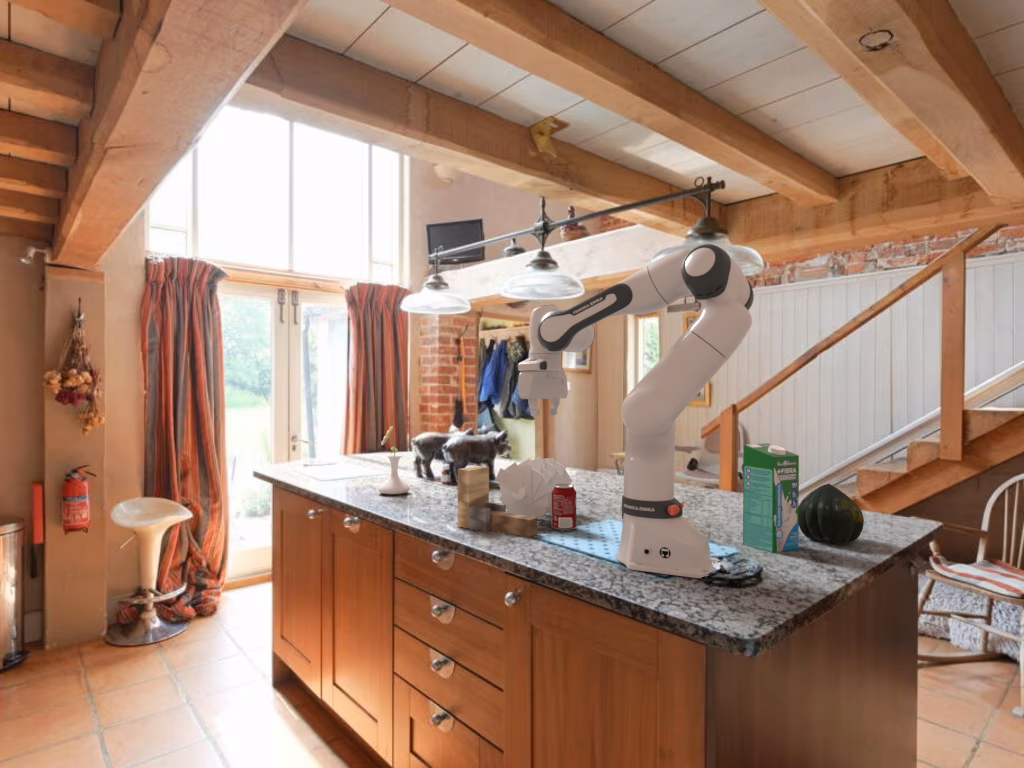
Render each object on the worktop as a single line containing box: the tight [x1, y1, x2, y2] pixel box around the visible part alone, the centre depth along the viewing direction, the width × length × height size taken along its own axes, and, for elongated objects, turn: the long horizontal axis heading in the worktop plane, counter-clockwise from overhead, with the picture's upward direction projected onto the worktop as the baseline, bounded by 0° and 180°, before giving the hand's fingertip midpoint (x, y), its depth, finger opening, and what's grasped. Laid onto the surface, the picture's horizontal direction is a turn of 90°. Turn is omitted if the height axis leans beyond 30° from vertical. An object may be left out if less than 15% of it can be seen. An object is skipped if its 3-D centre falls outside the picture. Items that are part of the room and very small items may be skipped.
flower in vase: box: [377, 425, 411, 496], centre depth 212 cm, size 13×11×25 cm
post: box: [456, 465, 507, 532], centre depth 163 cm, size 10×9×16 cm
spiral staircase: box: [494, 455, 573, 520], centre depth 177 cm, size 18×18×25 cm
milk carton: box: [742, 442, 800, 554], centre depth 144 cm, size 9×9×25 cm
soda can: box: [551, 484, 577, 532], centre depth 161 cm, size 7×7×12 cm
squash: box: [799, 483, 865, 546], centre depth 151 cm, size 14×15×15 cm
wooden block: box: [483, 506, 538, 538], centre depth 158 cm, size 16×4×6 cm, turn 55°
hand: (544, 415), depth 160 cm, fingers open, 8 cm apart
